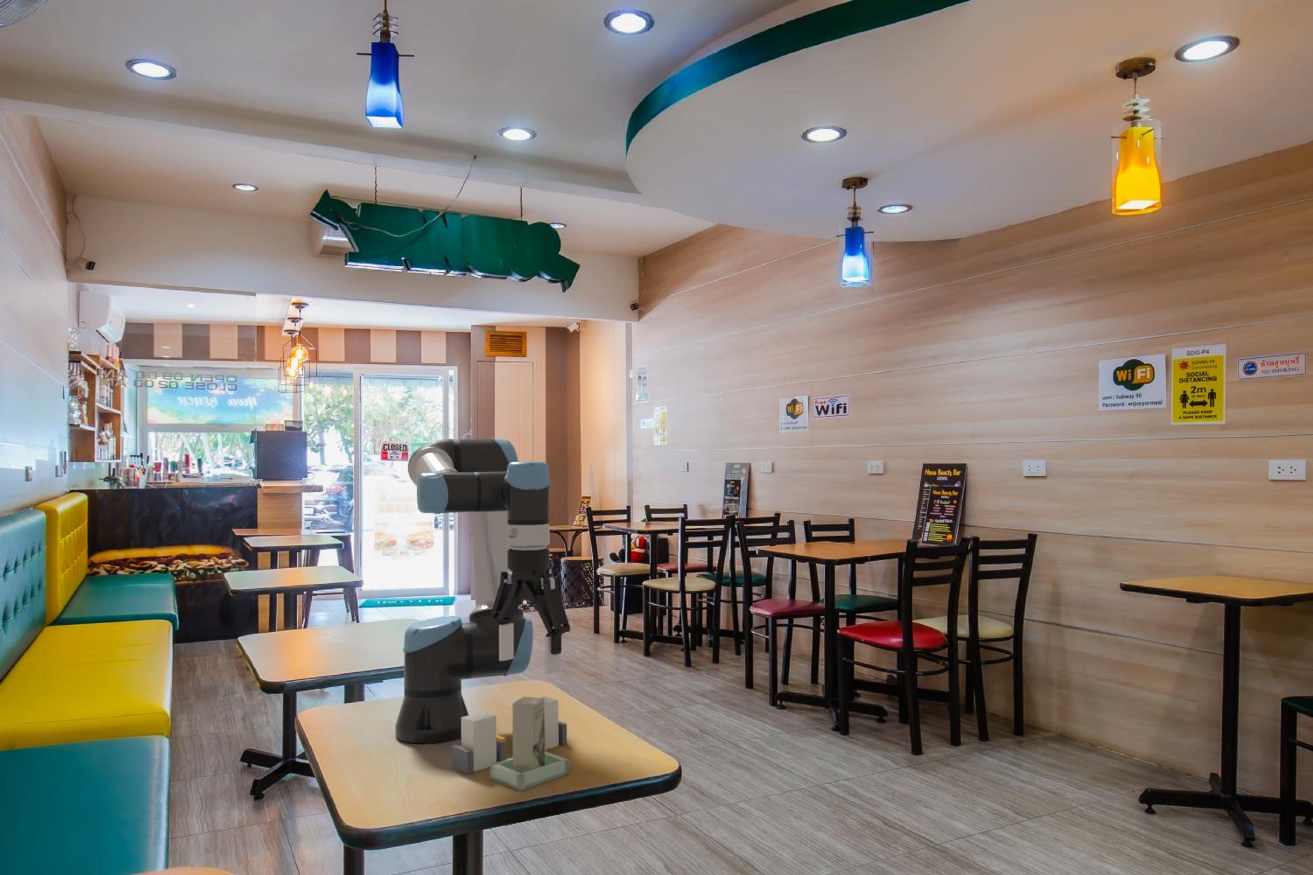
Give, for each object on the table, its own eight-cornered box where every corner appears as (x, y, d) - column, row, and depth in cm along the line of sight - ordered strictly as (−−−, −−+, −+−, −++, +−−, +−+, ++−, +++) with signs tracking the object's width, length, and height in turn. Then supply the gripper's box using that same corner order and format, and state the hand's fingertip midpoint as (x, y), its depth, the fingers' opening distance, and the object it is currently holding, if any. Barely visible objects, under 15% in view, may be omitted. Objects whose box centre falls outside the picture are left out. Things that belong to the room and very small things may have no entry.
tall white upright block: (461, 766, 162) (461, 717, 162) (484, 759, 166) (483, 711, 166) (473, 771, 159) (473, 721, 159) (496, 764, 163) (496, 715, 163)
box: (535, 778, 153) (534, 704, 154) (511, 776, 154) (511, 703, 155) (546, 768, 158) (545, 696, 159) (523, 766, 159) (522, 695, 160)
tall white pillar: (525, 747, 173) (525, 701, 173) (546, 741, 176) (545, 696, 176) (538, 751, 170) (538, 704, 170) (558, 745, 173) (558, 699, 174)
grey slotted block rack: (451, 767, 161) (451, 742, 161) (551, 738, 178) (550, 715, 178) (467, 774, 158) (467, 748, 158) (566, 743, 174) (566, 720, 174)
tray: (490, 778, 155) (490, 764, 155) (539, 762, 163) (539, 749, 163) (519, 790, 149) (519, 775, 149) (569, 773, 157) (569, 759, 157)
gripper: (471, 544, 164) (471, 657, 163) (556, 554, 146) (556, 682, 146) (504, 540, 169) (505, 651, 169) (589, 550, 151) (590, 673, 151)
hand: (528, 665), depth 157 cm, fingers open, 13 cm apart
